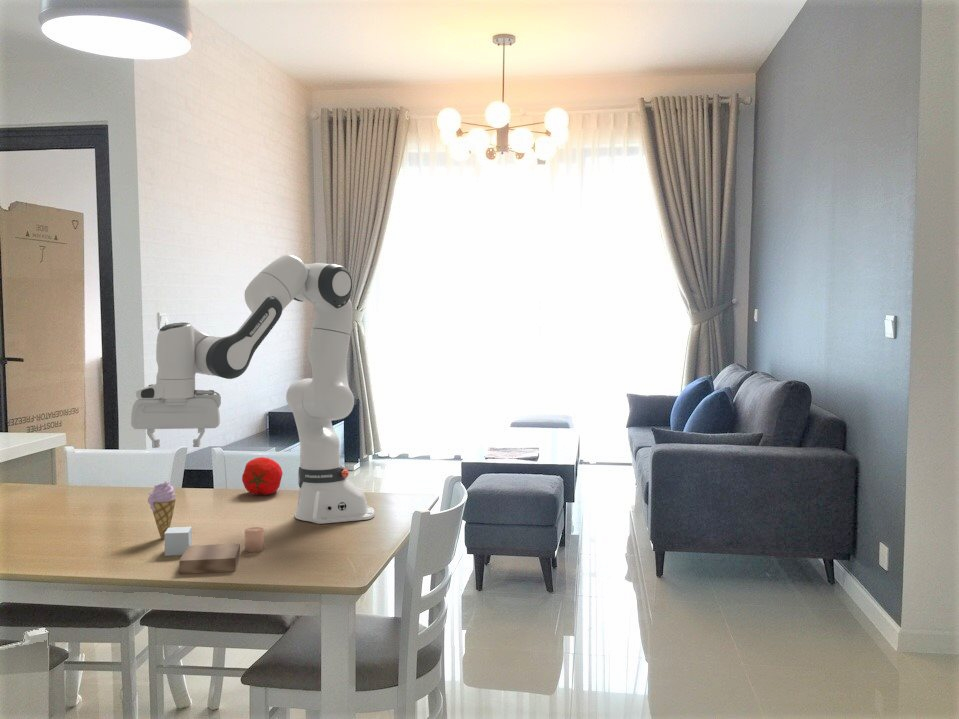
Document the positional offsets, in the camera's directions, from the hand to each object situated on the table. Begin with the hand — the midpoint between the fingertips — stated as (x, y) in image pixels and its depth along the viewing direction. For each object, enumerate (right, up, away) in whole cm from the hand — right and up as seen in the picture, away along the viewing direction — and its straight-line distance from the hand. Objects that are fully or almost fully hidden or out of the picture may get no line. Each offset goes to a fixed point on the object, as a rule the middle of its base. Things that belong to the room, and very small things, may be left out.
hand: (176, 447), depth 207 cm
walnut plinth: (+11, -26, -9) cm, 30 cm away
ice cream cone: (-8, -25, +13) cm, 30 cm away
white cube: (0, -26, +1) cm, 26 cm away
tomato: (+4, -22, +65) cm, 69 cm away
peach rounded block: (+18, -26, +4) cm, 31 cm away
